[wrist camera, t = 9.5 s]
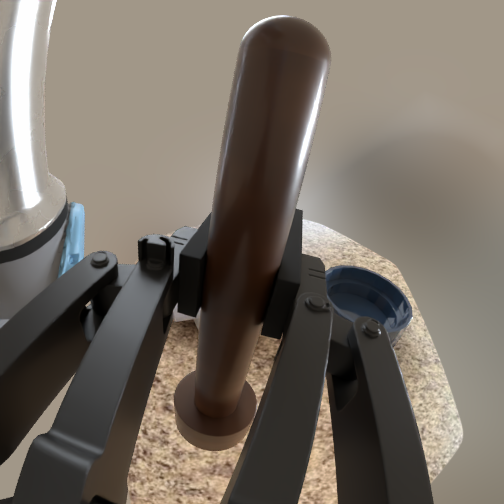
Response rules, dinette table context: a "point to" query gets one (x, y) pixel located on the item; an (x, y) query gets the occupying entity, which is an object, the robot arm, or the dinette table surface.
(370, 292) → the bowl
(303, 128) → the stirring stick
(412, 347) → the dinette table surface
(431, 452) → the dinette table surface
